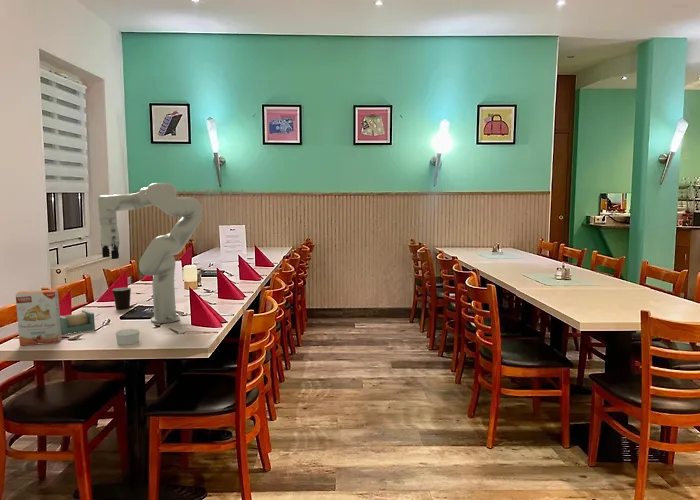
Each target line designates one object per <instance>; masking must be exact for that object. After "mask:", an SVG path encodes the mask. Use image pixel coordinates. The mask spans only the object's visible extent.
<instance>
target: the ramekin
mask: <svg viewBox="0 0 700 500" xmlns="http://www.w3.org/2000/svg"><path fill="white" fill-rule="evenodd" d="M114 334H115V337H116V343H117V345H120V346H126V345H127V346H128V345H133V344H136V343H138V342H139V340H140V330H139V329H134V328H131V329H129V328H128V329H121V330H117V331H116V332H115V333H114Z"/></svg>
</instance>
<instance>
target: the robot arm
mask: <svg viewBox="0 0 700 500" xmlns="http://www.w3.org/2000/svg"><path fill="white" fill-rule="evenodd" d="M177 195H178V191H177V188H176V187H175V185H174V184H172V183H170V182H169V183H168V182H155V183H151V184H149V185H148V186H147V187H141V189H139V191H138V192H135V193H128V194H126V193H122V194H121V193H120V194H113V195H112V194H103V195H99V196H98V197H97V204H98V208H97V209H98V219H99V220H98V221H99V226H100V243H101V244H100V245H101V252H102V258H109V257H111V259H112V260H117V259H120V254H119V252H120V251H119V249H120V248H119V247H120V243H121V242H120V236H119V228H118V217H117V212H122V211H123V212H124V211H133V210H139V209H143V208H148V207H151V206H155V207H156V208H158V209H160V210H161V211H162V212H163V213H165V214H166V215H168V216H169V217H172V218H180V217H181V218H180V219H179V220H178V221H177V222H176V223H175V225H174V226H173V228H172V229H171V230H170V232H169V233H167V234H164V235H158V236H155V238H153V239H152V240H151V242H150V243H149V245H148V246H147V248H146V249H145V251H144V252H143V254H142V256H141V258H140V259H139V263H138V269H139V271H140V273H141V274H142V275H144V276H146V277H152V282H151V283H152V285H151V286H152V297H153V298H152V299H153V301H152V302H153V303H152V304H153V316H152V317H151V318H150V322H151V323H153V324H167V323H173V322H177V321H179V320H180V319H181V317H180V315H178V314H177V309H176V307H177V306H176V292H175V290H176V289H175V288H176V287H175V271H176V258H175V257H174V256H176V255H179V254H180V253H181V252H182V251H183V249H184V248H185V247H186V245H187V243H188V242H189V240H190V239H191V237H192V236H193V234H194V232H195V231H196V230H197V228H199V225H200V224H201V221H202V218H203V207H202V205H201V203H200V201H199V200H198V199H196V198H195V197H192V196H191V197H190V196H178V197H177ZM109 247H110V248H111V250H110V248H109ZM110 253H111V256H110Z"/></svg>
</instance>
